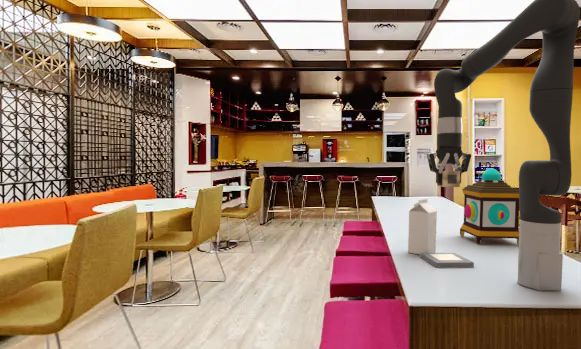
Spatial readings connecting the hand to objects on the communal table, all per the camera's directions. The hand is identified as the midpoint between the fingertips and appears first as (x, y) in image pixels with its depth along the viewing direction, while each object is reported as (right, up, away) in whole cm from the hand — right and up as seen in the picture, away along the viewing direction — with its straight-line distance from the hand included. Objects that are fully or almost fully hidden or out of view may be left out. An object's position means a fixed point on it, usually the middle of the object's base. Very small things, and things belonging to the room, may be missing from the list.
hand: (448, 185), depth 123 cm
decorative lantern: (+31, -24, +35) cm, 53 cm away
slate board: (0, -25, +1) cm, 25 cm away
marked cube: (0, 0, 0) cm, 0 cm away
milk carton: (-4, -25, +13) cm, 28 cm away
